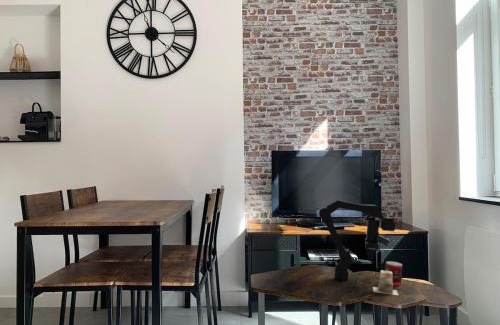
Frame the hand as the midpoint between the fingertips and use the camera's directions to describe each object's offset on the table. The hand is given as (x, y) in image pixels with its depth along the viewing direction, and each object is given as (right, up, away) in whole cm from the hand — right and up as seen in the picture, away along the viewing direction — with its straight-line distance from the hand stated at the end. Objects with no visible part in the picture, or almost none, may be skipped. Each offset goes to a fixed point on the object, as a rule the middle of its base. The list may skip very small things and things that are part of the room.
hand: (370, 259), depth 194 cm
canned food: (+11, -13, 0) cm, 17 cm away
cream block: (+3, -11, -14) cm, 18 cm away
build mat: (+3, -12, -14) cm, 19 cm away
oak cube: (+3, -7, -14) cm, 16 cm away
